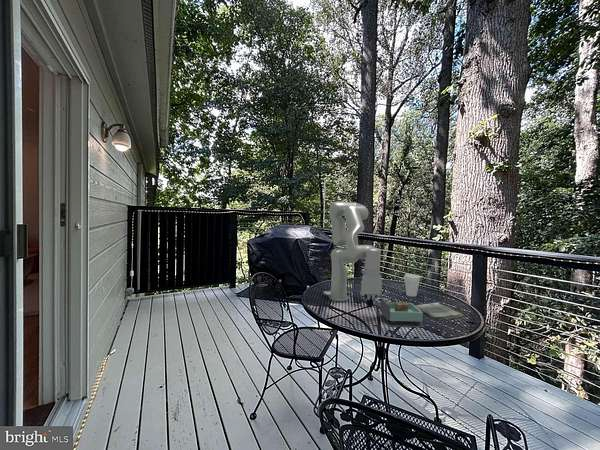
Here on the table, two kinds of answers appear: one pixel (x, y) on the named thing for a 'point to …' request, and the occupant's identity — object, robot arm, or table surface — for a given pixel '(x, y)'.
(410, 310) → the mint green cubby
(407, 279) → the foam cup
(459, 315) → the dish towel
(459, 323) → the table surface
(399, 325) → the dock mat
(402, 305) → the walnut block
